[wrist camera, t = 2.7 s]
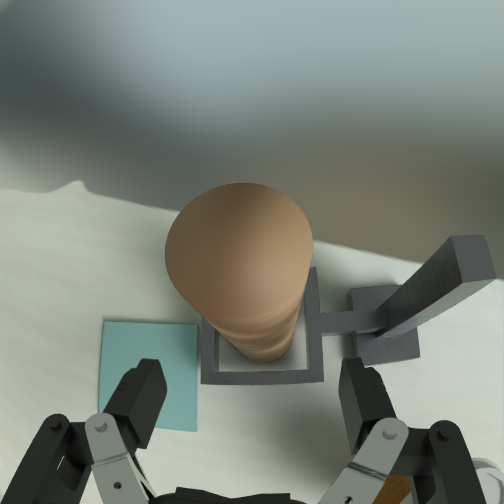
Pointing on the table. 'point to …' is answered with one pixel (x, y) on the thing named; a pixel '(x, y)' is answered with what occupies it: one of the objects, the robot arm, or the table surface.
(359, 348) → the ring stand
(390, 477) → the disposable coffee cup
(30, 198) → the table surface
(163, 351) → the felt coaster
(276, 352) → the walnut rod
